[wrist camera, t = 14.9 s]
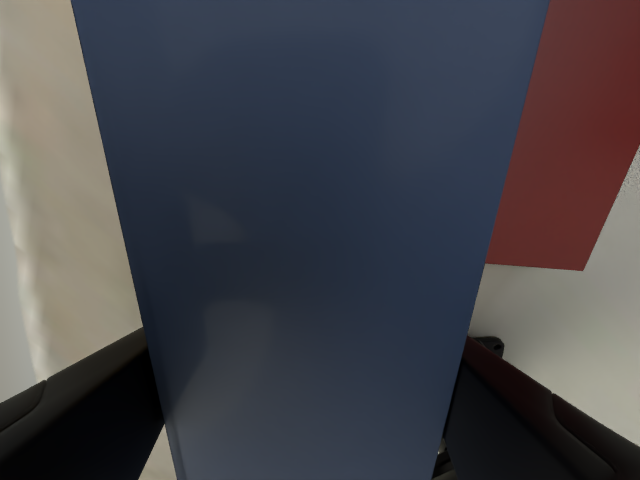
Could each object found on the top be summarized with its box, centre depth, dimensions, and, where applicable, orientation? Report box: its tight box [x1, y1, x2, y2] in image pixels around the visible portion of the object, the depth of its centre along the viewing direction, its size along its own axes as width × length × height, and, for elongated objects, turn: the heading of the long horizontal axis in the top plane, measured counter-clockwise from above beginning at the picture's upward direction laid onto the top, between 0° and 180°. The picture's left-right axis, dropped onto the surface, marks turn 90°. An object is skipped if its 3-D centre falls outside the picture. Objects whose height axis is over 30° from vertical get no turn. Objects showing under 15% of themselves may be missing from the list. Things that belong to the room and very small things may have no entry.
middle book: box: [71, 0, 550, 480], centre depth 8 cm, size 15×6×3 cm, turn 178°
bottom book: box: [485, 0, 640, 271], centre depth 15 cm, size 17×11×3 cm, turn 175°
